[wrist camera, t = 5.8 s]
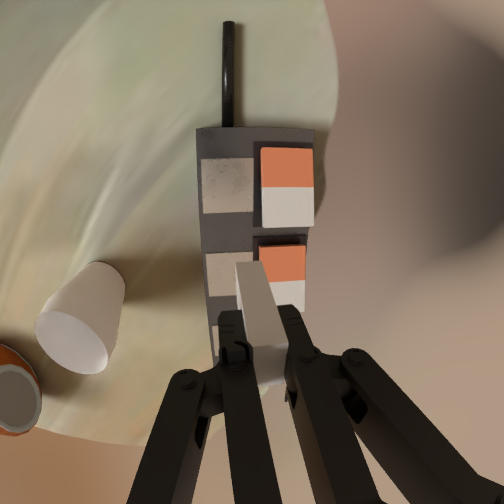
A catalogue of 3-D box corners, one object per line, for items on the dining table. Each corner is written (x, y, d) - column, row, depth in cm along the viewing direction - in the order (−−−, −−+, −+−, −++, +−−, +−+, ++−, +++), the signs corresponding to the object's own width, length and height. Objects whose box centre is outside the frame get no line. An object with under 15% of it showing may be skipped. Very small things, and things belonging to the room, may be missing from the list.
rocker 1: (260, 149, 24) (262, 147, 23) (308, 150, 25) (312, 148, 24) (262, 226, 26) (264, 228, 24) (309, 225, 26) (314, 226, 25)
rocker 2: (258, 245, 28) (260, 247, 27) (302, 244, 29) (305, 245, 28) (260, 311, 30) (262, 315, 28) (301, 308, 30) (304, 312, 29)
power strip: (199, 25, 22) (197, 8, 17) (302, 30, 23) (317, 15, 18) (213, 349, 40) (214, 374, 35) (286, 343, 41) (294, 367, 37)
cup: (119, 245, 31) (82, 303, 21) (144, 305, 35) (124, 373, 25) (63, 260, 31) (19, 314, 20) (90, 315, 35) (61, 376, 24)
